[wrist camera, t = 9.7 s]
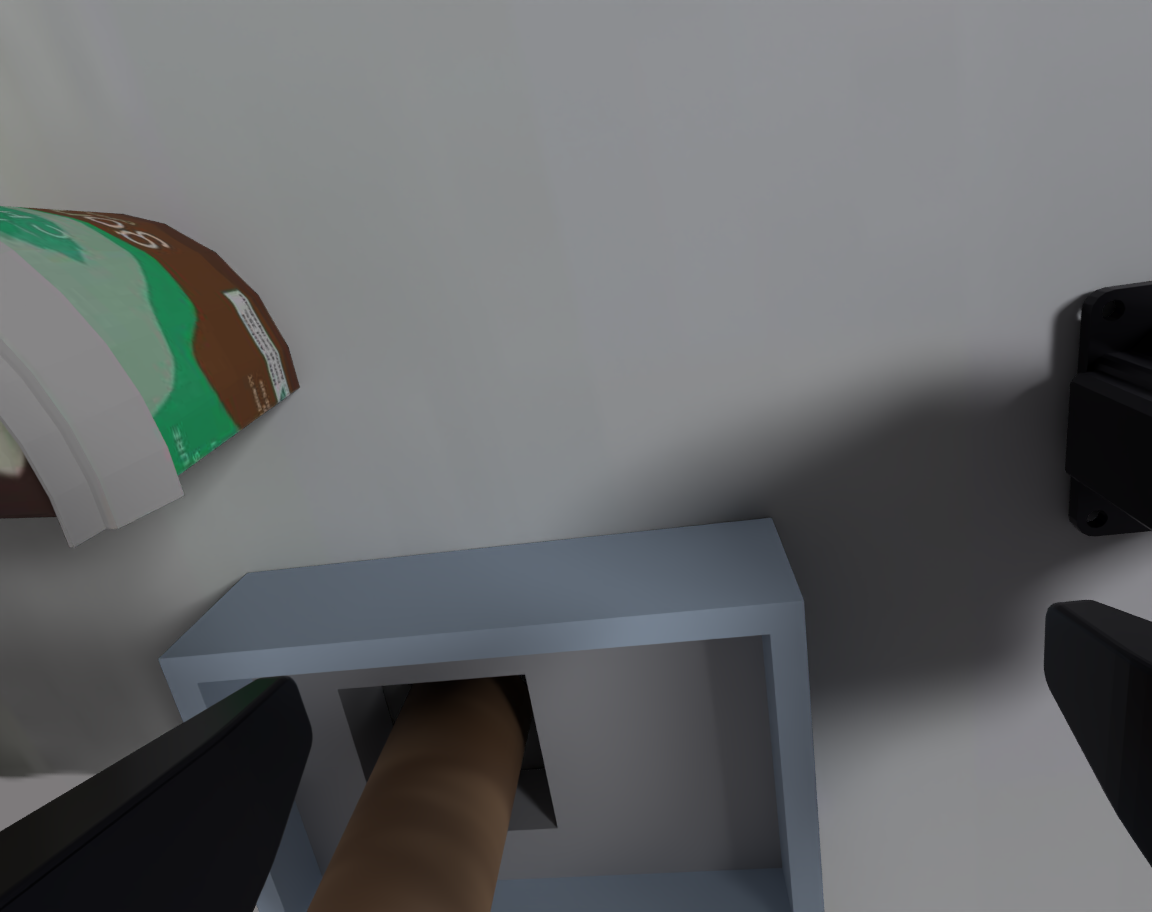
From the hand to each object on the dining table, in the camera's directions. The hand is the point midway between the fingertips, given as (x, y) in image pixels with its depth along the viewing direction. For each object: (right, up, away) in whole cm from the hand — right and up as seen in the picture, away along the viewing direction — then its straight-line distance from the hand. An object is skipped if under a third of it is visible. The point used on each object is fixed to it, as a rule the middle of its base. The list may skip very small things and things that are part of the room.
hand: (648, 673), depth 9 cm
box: (-2, -5, +15) cm, 16 cm away
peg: (-4, -5, +15) cm, 17 cm away
